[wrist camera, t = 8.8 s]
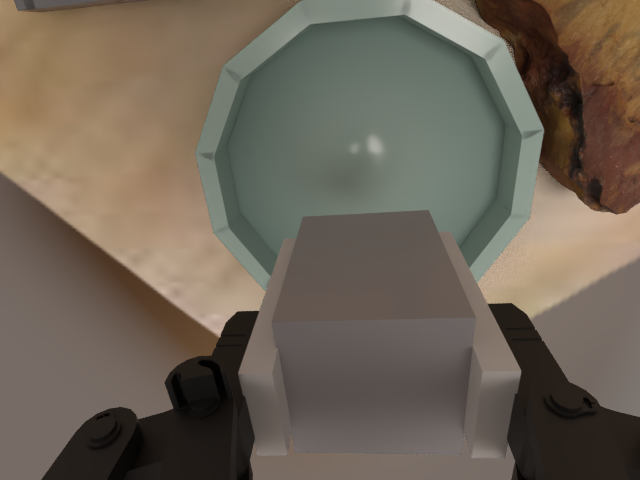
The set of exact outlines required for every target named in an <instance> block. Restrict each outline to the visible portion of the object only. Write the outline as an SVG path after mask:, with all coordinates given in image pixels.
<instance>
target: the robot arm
mask: <svg viewBox="0 0 640 480" xmlns="http://www.w3.org/2000/svg"><path fill="white" fill-rule="evenodd" d="M439 235H440V237H441V239H442V241H443V244H444V246H445V248H446V251H447V253H448V255H449V257H450V260H451V262H452V264H453V267H454V269H455V271H456V273H457V276H458V278H459V280H460V283H461V285H462V287H463V289H464V292H465V294H466V296H467V299H468V301H469V303H470V305H471V308H472V310H473V312H474V315H475V317H476V320H475V330H474V340H473V348H472V357H471V367H470V376H469V385H468V394H467V404H466V413H465V422H464V433H465V437H466V440H467V444H468V447H469V451H470V454H471V457H472V458H505V456H506V451H507V445H508V443H509V446H510V449H511V451H512V454H513V456H514V459H515V464H514V470H513V474H512V479H511V480H640V417H637V416H632V415H628V414H624V413H620V412H616V411H613V410H610V409H606V408H604V407H601V406H600V405H599V403H598V401H597V400H596V399H595V398H594V397H593V396H592V395H590V394H589V393H588V392H587V391H586V390H584V389H582V388H580V387H578V386H576V385H574V384H572V383H569V381H568V380H567V378H566V377H565V375H564V373H563V372H562V370H561V368H560V367H559V365H558V364H557V362H556V360H555V359H554V357H553V356H552V354H551V353H550V351H549V349H548V348H547V346H546V345H545V343H544V341H542V338H541V337H540V335H539V333H538V332H537V330H535V327H534V326H533V324H532V322H531V321H530V319H529V318H528V316H527V314H525V313H524V312H523V311H521V310H520V309H519V308H517V307H516V306H515V305H513V304H512V303H503V304H487V302H486V300H485V298H484V296H483V294H482V292H481V290H480V288H479V286H478V284H477V282H476V280H475V278H474V277H473V275H472V273H471V271H470V269H469V267H468V265H467V263H466V261H465V259H464V257H463V255H462V253H461V251H460V249H459V247H458V245H457V243H456V241H455V239H454V237H453V235H452V233H451V231H447V232H439ZM295 241H296V238H291V239H284V240H283V243H282V246H281V249H280V252H279V255H278V258H277V261H276V264H275V267H274V270H273V273H272V275H271V278H270V281H269V284H268V287H267V290H266V293H265V296H264V299H263V302H262V305H261V308H260V311H240V312H237V313H236V314H235V315H233V316H232V317H231V318H230V319H229V320H228V321H227V322H226V324H225V326H224V329H223V331H222V333H221V337H220V338H219V340H218V342H217V344H216V348H215V349H214V351H213V353H212V356H198V357H195V358H192V359H189V360H186V361H185V362H183V363H181V364H179V365H178V366H177V367H176V368H175V369H173V370H172V371H171V372H170V373H169V375H168V377H167V379H166V381H165V385H166V388H167V391H168V394H169V397H170V399H171V402H172V405H173V408H174V409H172V410H169V411H166V412H163V413H160V414H156V415H152V416H149V417H146V418H142V419H137V416H136V414H134V412H133V411H132V410H131V409H127V408H122V407H118V408H111V409H108V410H105V411H103V412H100V413H98V414H96V415H95V416H93V417H92V418H90V419H89V420H87V421H86V422H85V423H84V424H83V425H82V426H81V427H80V428H79V429H78V430H77V431H76V432H75V434H74V435H73V437H72V438H71V439H70V441H69V442H68V444H67V445H66V446H65V448H64V449H63V450H62V452H61V453H60V455H59V456H58V457H57V459H56V460H55V462H54V463H53V464H52V466H51V467H50V468H49V470H48V471H47V473H46V474H45V475H44V477H43V478H42V480H253V473H252V468H251V464H250V457H251V453H252V448H253V444H254V443H255V447H256V451H257V455H279V456H282V455H283V456H287V455H288V448H289V442H290V436H291V429H292V427H291V421H290V416H289V410H288V404H287V398H286V392H285V386H284V380H283V374H282V368H281V362H280V357H279V351H278V348H276V345H275V339H274V334H273V328H272V323H271V322H272V319H273V315H274V312H275V309H276V305H277V302H278V299H279V295H280V292H281V288H282V285H283V282H284V278H285V275H286V272H287V268H288V265H289V262H290V258H291V255H292V251H293V248H294V245H295Z"/></svg>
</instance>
